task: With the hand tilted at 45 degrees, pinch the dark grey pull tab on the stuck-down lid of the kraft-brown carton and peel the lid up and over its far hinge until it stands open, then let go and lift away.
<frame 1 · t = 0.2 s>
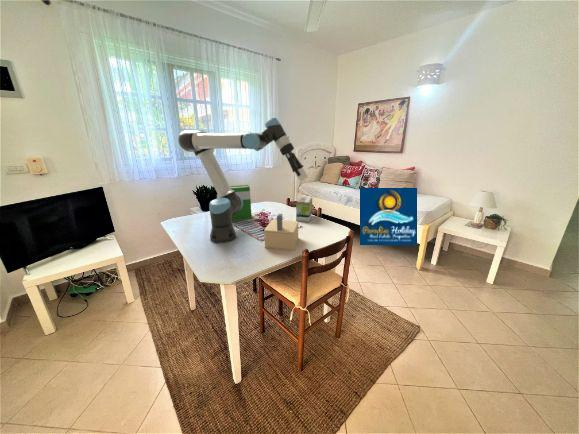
hand: (304, 179, 126), 35 cm above the table, tool tilted 30°, fingers open, 13 cm apart
tea box: (304, 218, 169), on the table
carton: (282, 242, 130), on the table
green cereal box: (239, 218, 170), on the table
carton lid: (281, 219, 125), point 14 cm above the table, hinge at 0.0°
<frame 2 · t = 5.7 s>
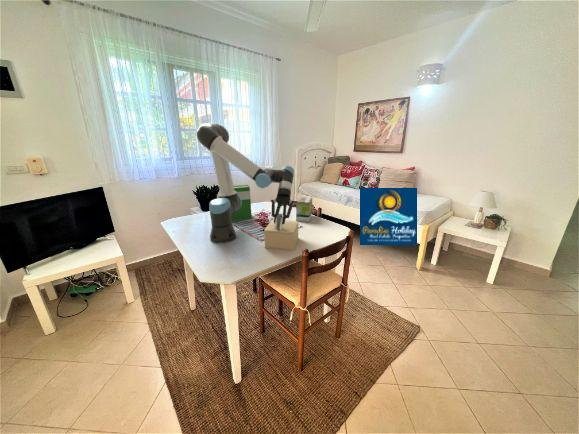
hand: (278, 229, 118), 12 cm above the table, tool tilted 45°, fingers closed on carton lid, 2 cm apart
carton lid: (281, 219, 125), point 14 cm above the table, hinge at 0.0°, touching gripper
everything else where it was.
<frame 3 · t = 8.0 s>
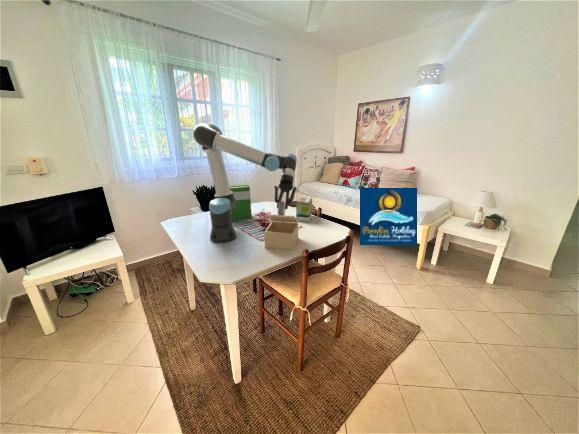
hand: (281, 213, 122), 18 cm above the table, tool tilted 45°, fingers closed on carton lid, 2 cm apart
carton lid: (283, 211, 127), point 18 cm above the table, hinge at 30.7°, touching gripper
everything else where it was.
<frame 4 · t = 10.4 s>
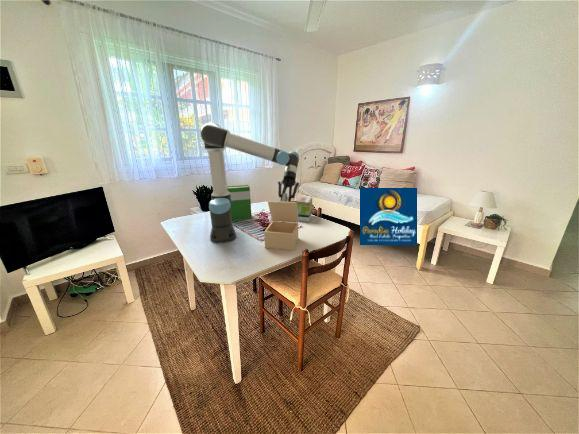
hand: (284, 207, 130), 19 cm above the table, tool tilted 45°, fingers closed on carton lid, 2 cm apart
carton lid: (284, 207, 131), point 19 cm above the table, hinge at 62.5°, touching gripper
everything else where it was.
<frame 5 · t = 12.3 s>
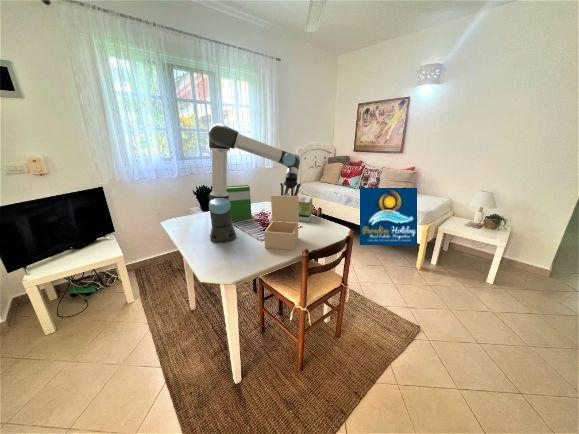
hand: (286, 207, 137), 17 cm above the table, tool tilted 45°, fingers open, 2 cm apart
carton lid: (286, 206, 135), point 18 cm above the table, hinge at 87.7°
everything else where it was.
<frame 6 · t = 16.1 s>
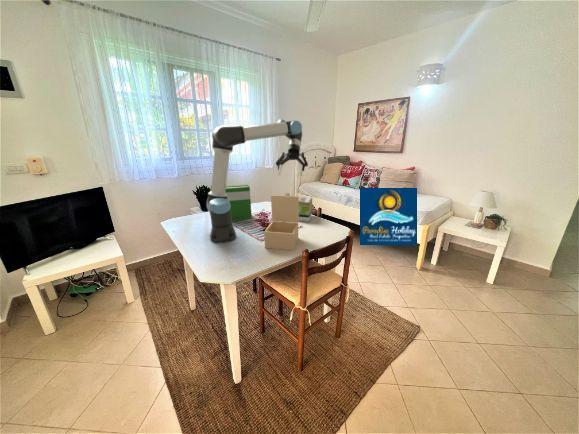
hand: (290, 174, 139), 36 cm above the table, tool tilted 45°, fingers open, 13 cm apart
nothing on the table moved.
at the end: carton lid at +88° (first picture: +0°); the gripper is holding nothing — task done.
